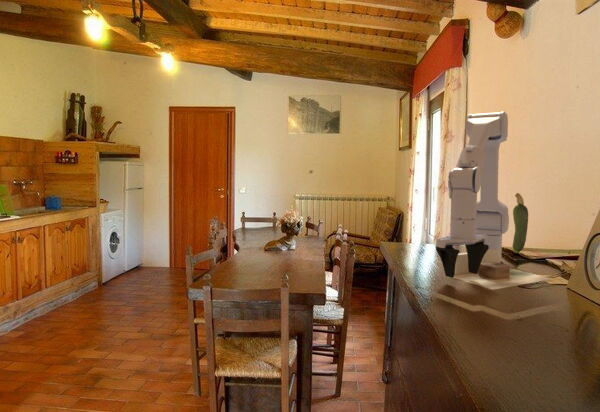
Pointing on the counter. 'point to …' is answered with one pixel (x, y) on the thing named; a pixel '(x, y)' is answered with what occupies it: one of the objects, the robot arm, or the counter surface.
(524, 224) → the vegetable
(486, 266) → the walnut block
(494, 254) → the beige rectangular slab
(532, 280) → the birch board
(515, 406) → the counter surface
